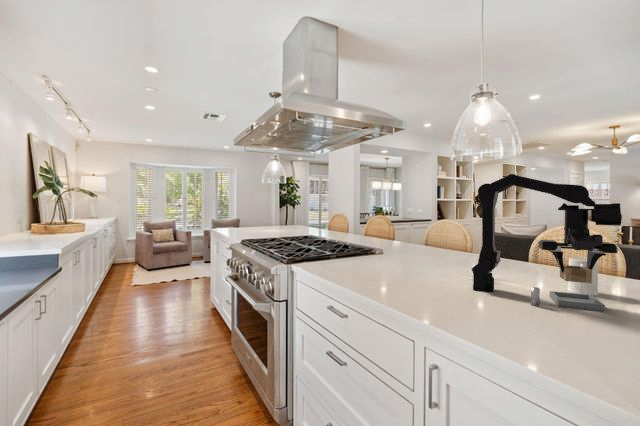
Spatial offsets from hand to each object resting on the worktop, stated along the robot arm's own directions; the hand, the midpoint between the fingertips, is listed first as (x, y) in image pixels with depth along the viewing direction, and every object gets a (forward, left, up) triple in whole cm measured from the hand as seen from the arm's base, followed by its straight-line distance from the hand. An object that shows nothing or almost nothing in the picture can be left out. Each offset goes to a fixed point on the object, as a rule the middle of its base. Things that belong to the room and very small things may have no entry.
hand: (575, 272), depth 98 cm
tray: (0, 0, -10) cm, 10 cm away
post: (-12, -7, -10) cm, 17 cm away
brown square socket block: (0, 0, -2) cm, 2 cm away
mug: (+6, +15, -10) cm, 19 cm away
